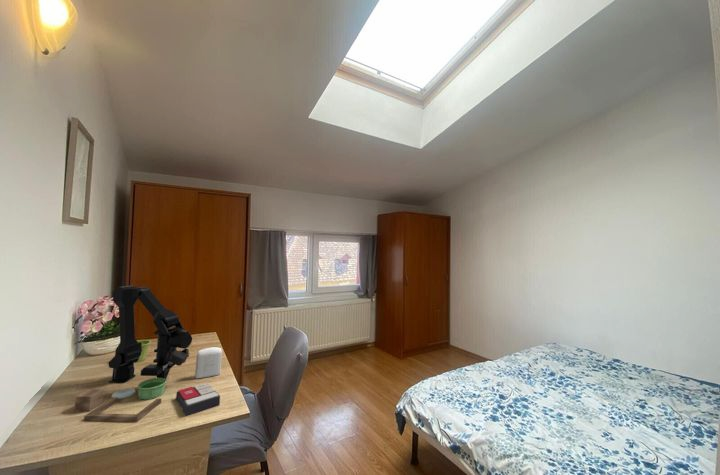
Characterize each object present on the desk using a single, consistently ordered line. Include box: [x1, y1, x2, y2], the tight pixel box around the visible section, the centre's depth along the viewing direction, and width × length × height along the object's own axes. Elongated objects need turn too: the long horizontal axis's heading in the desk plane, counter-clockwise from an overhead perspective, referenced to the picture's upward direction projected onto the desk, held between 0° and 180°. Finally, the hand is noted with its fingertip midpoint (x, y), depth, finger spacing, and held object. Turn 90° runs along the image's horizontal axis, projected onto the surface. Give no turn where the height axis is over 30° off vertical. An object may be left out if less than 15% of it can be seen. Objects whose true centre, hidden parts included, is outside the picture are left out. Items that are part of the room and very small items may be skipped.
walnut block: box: [74, 388, 105, 413], centre depth 98 cm, size 5×5×5 cm
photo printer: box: [194, 346, 223, 379], centre depth 126 cm, size 10×4×12 cm, turn 123°
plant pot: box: [134, 339, 152, 364], centre depth 138 cm, size 9×9×9 cm
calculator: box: [175, 382, 221, 417], centre depth 104 cm, size 11×4×15 cm
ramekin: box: [137, 377, 167, 400], centre depth 108 cm, size 9×9×4 cm
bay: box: [83, 397, 162, 423], centre depth 96 cm, size 17×12×2 cm
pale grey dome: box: [110, 387, 136, 400], centre depth 107 cm, size 7×7×1 cm
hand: (162, 383), depth 114 cm, fingers closed
